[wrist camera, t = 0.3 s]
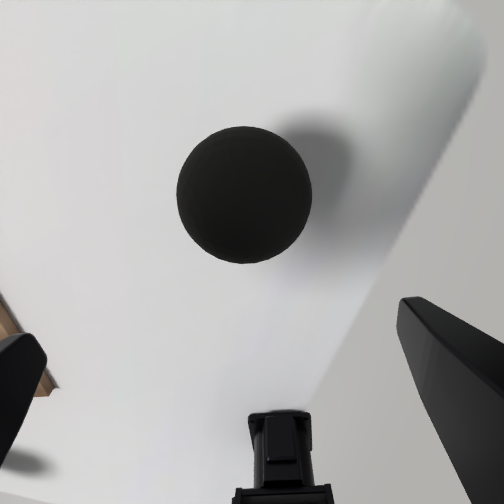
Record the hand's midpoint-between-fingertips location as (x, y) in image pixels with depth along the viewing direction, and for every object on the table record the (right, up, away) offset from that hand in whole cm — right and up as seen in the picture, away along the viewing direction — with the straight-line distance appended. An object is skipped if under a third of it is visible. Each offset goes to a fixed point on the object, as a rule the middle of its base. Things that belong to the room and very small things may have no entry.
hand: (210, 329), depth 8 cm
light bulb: (+1, +8, +13) cm, 15 cm away
